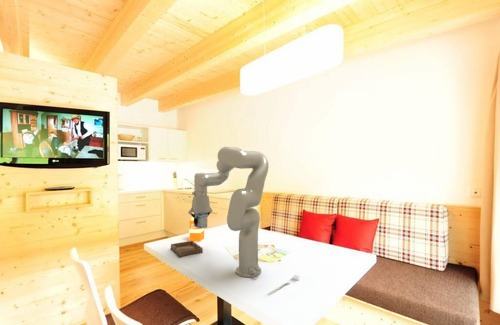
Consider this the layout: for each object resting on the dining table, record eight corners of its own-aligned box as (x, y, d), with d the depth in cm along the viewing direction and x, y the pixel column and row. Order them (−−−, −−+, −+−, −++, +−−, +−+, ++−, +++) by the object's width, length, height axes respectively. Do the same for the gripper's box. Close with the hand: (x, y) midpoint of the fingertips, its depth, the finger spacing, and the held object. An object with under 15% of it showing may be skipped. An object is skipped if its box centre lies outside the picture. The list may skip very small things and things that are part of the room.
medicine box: (193, 226, 153) (193, 212, 153) (199, 225, 156) (199, 211, 156) (201, 228, 148) (201, 214, 148) (207, 227, 151) (207, 212, 151)
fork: (260, 296, 103) (260, 292, 103) (295, 277, 120) (295, 274, 120) (266, 299, 101) (266, 295, 101) (300, 280, 118) (300, 276, 118)
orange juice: (204, 238, 184) (204, 210, 184) (199, 241, 176) (199, 212, 176) (194, 237, 186) (194, 210, 186) (189, 241, 177) (189, 212, 177)
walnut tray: (202, 253, 153) (202, 248, 153) (179, 257, 146) (179, 252, 146) (192, 245, 168) (192, 240, 168) (171, 248, 161) (171, 244, 161)
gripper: (188, 195, 144) (188, 227, 144) (216, 193, 153) (216, 223, 153) (184, 193, 151) (184, 224, 151) (211, 192, 160) (211, 221, 160)
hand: (200, 223), depth 152 cm, fingers closed on medicine box, 5 cm apart
